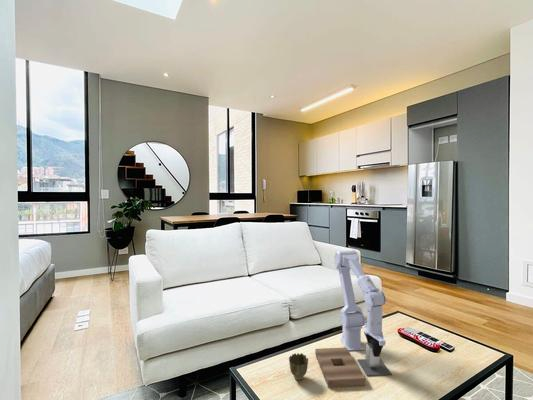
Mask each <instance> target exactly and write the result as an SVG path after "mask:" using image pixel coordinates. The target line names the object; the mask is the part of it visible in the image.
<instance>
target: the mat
mask: <svg viewBox="0 0 533 400" xmlns="http://www.w3.org/2000/svg"><path fill="white" fill-rule="evenodd" d="M357 363H358V365H359V366H360V367H361V369H362V370H363V372H364V374H365V376H366V377H379V376H392V375H393V373H392V372H391V371H390V370H389V368H388V366H387V365H386V364H385V363H384V362H383V360H382V359H381V358H380V363H379V367H369V366H368V364H367V363H366V358H364V359H363V358H360V359H359V358H358V359H357Z"/></svg>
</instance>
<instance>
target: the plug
mask: <svg viewBox="0 0 533 400" xmlns="http://www.w3.org/2000/svg"><path fill="white" fill-rule="evenodd" d="M365 346H366V347H365V359H366V363H367V364H368V366H369V367H379V363H380V359H381V358H380V357H381V355H380V356H379V357H374V354H373V347H372V344H371V342H369V343H368V342H366V345H365Z"/></svg>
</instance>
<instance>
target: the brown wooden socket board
mask: <svg viewBox="0 0 533 400" xmlns="http://www.w3.org/2000/svg"><path fill="white" fill-rule="evenodd" d="M314 350H315V353H314V354H315V355H316V356H315V358H316V360H318V361H317V363H318V365H319V368H320V371H321V374H322V375H323V378H324V380H325V383H326V386H327V388H328V389H331V388H349V387H365V386H366V377H365V375H364V374H363V372H362V371H361V369H360V367H359V365H358V364H357V363H356V360H355V359H354V358H353V356H352V354H351V353H350V352H351V351H348V349H347V347H345V346H344V347H330V348H329V347H327V348H326V347H324V348H315V349H314Z"/></svg>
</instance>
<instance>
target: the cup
mask: <svg viewBox="0 0 533 400" xmlns="http://www.w3.org/2000/svg"><path fill="white" fill-rule="evenodd" d="M289 355H290V354H289ZM288 362H289V369H290V372H291V374H292V375H293V377H294V380H296V381H298V380H300V381H302V380H303V379H304V377H305V375H306V374H307V371H308V366H309V358H308V357H307V355H306V354H303V353H299V352H297V353H292V354H291V355H290V356H289V357H288Z"/></svg>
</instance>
